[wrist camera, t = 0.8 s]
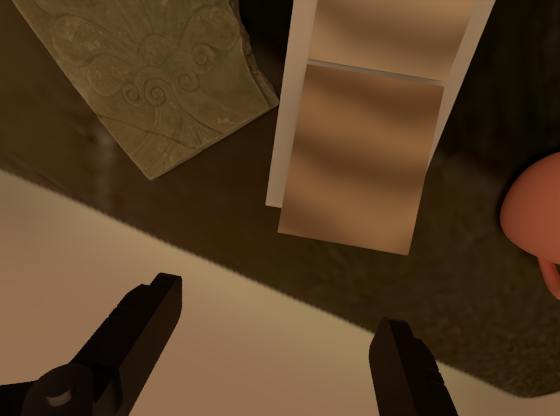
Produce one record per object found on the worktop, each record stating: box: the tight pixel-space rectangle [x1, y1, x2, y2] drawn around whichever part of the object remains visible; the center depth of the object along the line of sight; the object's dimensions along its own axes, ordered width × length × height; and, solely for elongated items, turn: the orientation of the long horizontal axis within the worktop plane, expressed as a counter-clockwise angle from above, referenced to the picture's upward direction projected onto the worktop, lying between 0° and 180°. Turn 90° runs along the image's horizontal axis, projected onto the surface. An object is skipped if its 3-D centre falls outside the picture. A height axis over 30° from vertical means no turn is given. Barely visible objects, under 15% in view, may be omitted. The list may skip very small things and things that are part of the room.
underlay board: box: [266, 0, 495, 208], centre depth 28 cm, size 22×16×2 cm
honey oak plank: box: [278, 64, 444, 255], centre depth 26 cm, size 15×12×2 cm
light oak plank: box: [308, 0, 477, 82], centre depth 24 cm, size 7×12×2 cm, turn 82°
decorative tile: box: [12, 0, 280, 180], centre depth 27 cm, size 19×20×4 cm
